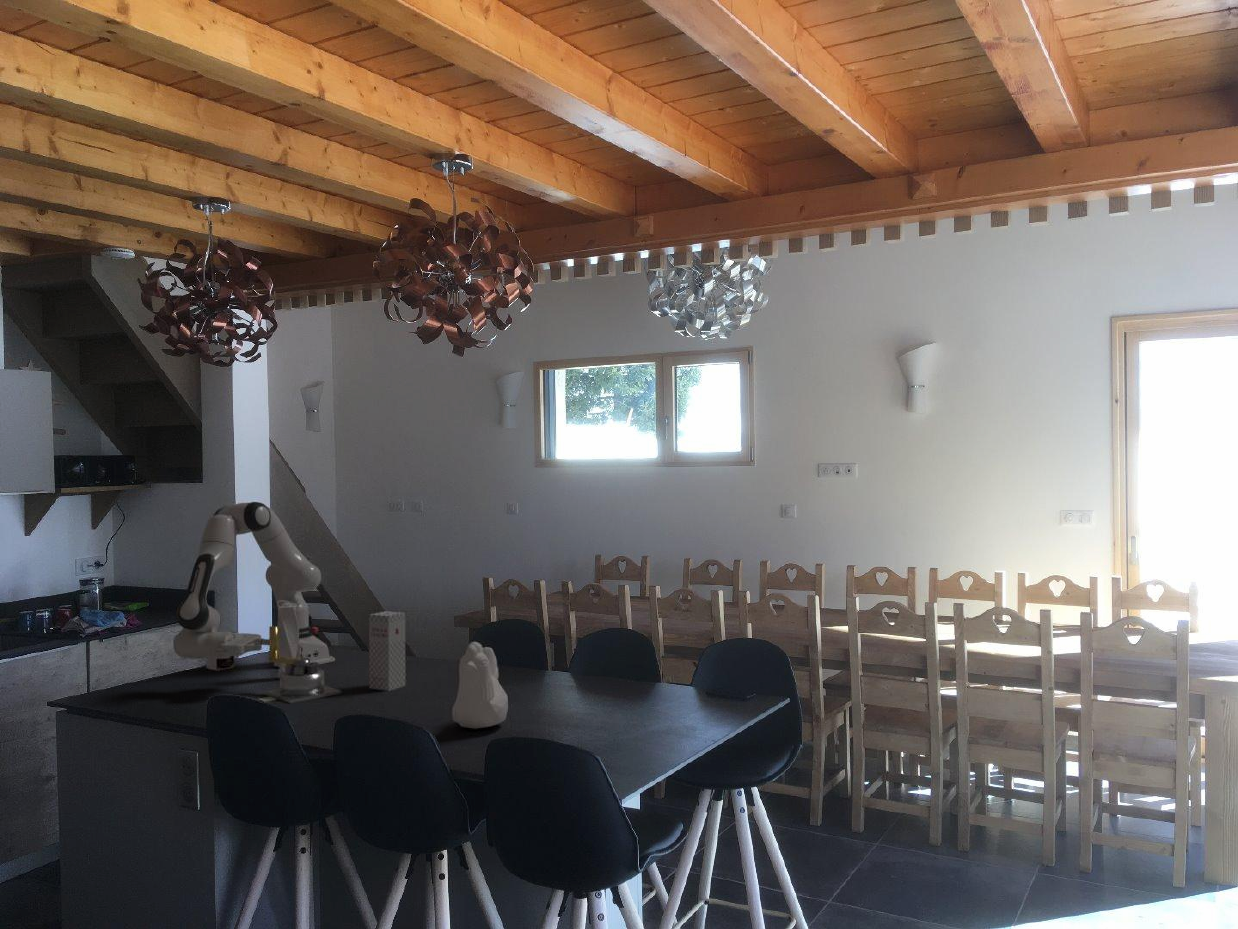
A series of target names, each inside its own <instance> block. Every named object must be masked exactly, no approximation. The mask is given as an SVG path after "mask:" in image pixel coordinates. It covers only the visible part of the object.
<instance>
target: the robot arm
mask: <svg viewBox="0 0 1238 929" xmlns="http://www.w3.org/2000/svg"><path fill="white" fill-rule="evenodd" d="M249 533H252V536H253V538H254V540H255V542H256V543H257V545H258V547H259V549H260V550H261V553H262V554H263V556H264V558H265V559H266V560H267V561H268V562H269V563H271V564H270V565H269V566H268V567H267V569H266V571H265V580H266V582H267V585H269V586H270V587H271V590H272V592H273V594H274V597H275V598H274V599H275V601H276V602H275V603H277V601H280V600H284V601H288V602H290V603H295V604H297V607H296V610H295V612H296V616H297V620H298V626H299V643H298V650H297V655H296V658H298V659H300V654H301V647H302V642H303V654H304V658H308V659H310V665H311V662H317V663H319V665H324V664H328V663H332V662H335V661H336V658H335V657H334V656H333V655H330V651H329V648H328V645H327V643H325V642H324V641H322V640H321V639H319V638H318V637H316V636H315V635H314V633H315V634H316V633H318V632H319V628H318V627H316V626H310V624H309V623H310V622H309V620H310V619H309V616H310V615H309V614H310V613H309V611H310V610H309V609H310V608H309V604H308V603H307V602H306V601H305V599H304V597H303V594H302V593H304V592H305V593H306V592H310V591H314V590H315V589H317V588H318V587H319V586H320V584H321V581H322V573H321V570H320V569H319V568H318V567H317V566H316V565H314V564H313V563H311V562H310V561H309V560H308V559H307V558H306V557H305V555H303V553H302V552H301V551H300V550H299V549H298V548H297V547H296V545H295V544H294V542H293V541H292V539H291V537H290V536H289V533H288V531H287V529H286V528H285V526H284V525H283V523H282V521H281V520H280V518H279V517H278V516H277V514H276V513H275V511H274V510H273V509H272V508H270V507H268V506H267V505H266V504H264V503H262V502H261V501H260V502H259V501H251V502H240V503H236V504H231V505H226V506H223V507H221V508H219V509H217V510H216V511H214V514H213V515H212V516H211V517H209V519H208V520H207V522H206V526H205V528H204V531H203V532H202V537H201V541H200V544H199V545H200V546H199V551H198V555H197V558H196V560H195V563H194V566H193V567H192V568H193V569H192V572H191V576H190V579H189V582H188V586H187V588H186V592H185V596H184V597H183V599H182V601H180V603H179V605H178V606H177V608H176V609H177V610H176V612H175V613H176V614H175V617H176V621H177V623H178V624H179V626H180V627H182V629H181V630H180V631H179V632H178V633H177V634H175V636H174V638H173V644H172V645H173V650H174V652H175V654H176V655H177V656H179V657H180V658H183V659H191V660H193V659H194V660H202V659H207V658H212V659H228V658H230V657H231V656H234V657H240V656H243V655H245V654H246V653H249V652H255V651H257V652H258V651H261V650H262V646H269V638H262V634H261V635H260V634H258V633H244V632H242V633H240V632H238V631H219V628H220V626H221V620H222V619H221V615H220V612H219V611H218V610H217V609H215V608H214V607H213V606H211V605H209V604H208V602H207V594H208V591H209V588H210V585H211V580H212V577H213V575H214V574H215V573H217V572H220V571H222V570H225V569H226V568H227V567H228V566H230V564H231V562H232V560H233V557H234V552H235V547H236V540H237V539H236V538H237V535H239V536H240V535H246V534H249ZM278 603H279V606H280V607H281V606H282V604H283V603H287V602H278ZM292 605H294V604H292ZM276 607H277V620H278V619H279V614H280V611H279V607H278V605H277V604H276ZM278 657H279V653H278ZM280 664H281V663H274V662H273V666H274V667H277V668H280Z"/></svg>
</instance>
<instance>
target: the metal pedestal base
mask: <svg viewBox="0 0 1238 929" xmlns="http://www.w3.org/2000/svg"><path fill="white" fill-rule="evenodd" d="M262 692H263V695H264V696H266V697H272V698H275V699H276V700H280V701H283V702H284V703H289V704H294V703H298V702H299V703H300V702H304V701H310V700H315V699H320V698H325V697H330V696H331V697H332V696H335V695H340V694H342V691H341V689H338V688H333V687H330V686H327V685H325V670H324V669H320V668H319V671H317V673H313V674H307V673H304V675H294V671H293V674H289V675H288V674H286V673H285V671H284V672H282V673H280V679H279V688H275V689H269V690H263V691H262Z"/></svg>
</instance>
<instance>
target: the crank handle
mask: <svg viewBox="0 0 1238 929" xmlns="http://www.w3.org/2000/svg"><path fill="white" fill-rule="evenodd" d="M268 628H269V629H268V630H269V633H268V634H269V636H268V637H269V638H268V639H269V645H268V646H269V647H268V648H269V657H268V662H269V663H273V664H274V663H284V664H287V665H286V666H285V673H286V674H288V675H289V674H293V671H294V675H304V673H307V674H313V673H317V671H319V669H320V668H319V667H320V664H319V663H317V662H311V665H310V659H308V658H300V659H298V658H287V657H278V626H277V625H271V626H269V627H268Z"/></svg>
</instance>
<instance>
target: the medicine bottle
mask: <svg viewBox="0 0 1238 929" xmlns="http://www.w3.org/2000/svg"><path fill="white" fill-rule="evenodd" d="M234 668H235V656H231V657H230V658H228V659H212V658H206V669H209V670H211V671H215V672H217V671H222V670H223V671H224V670H228V669H234Z"/></svg>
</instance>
